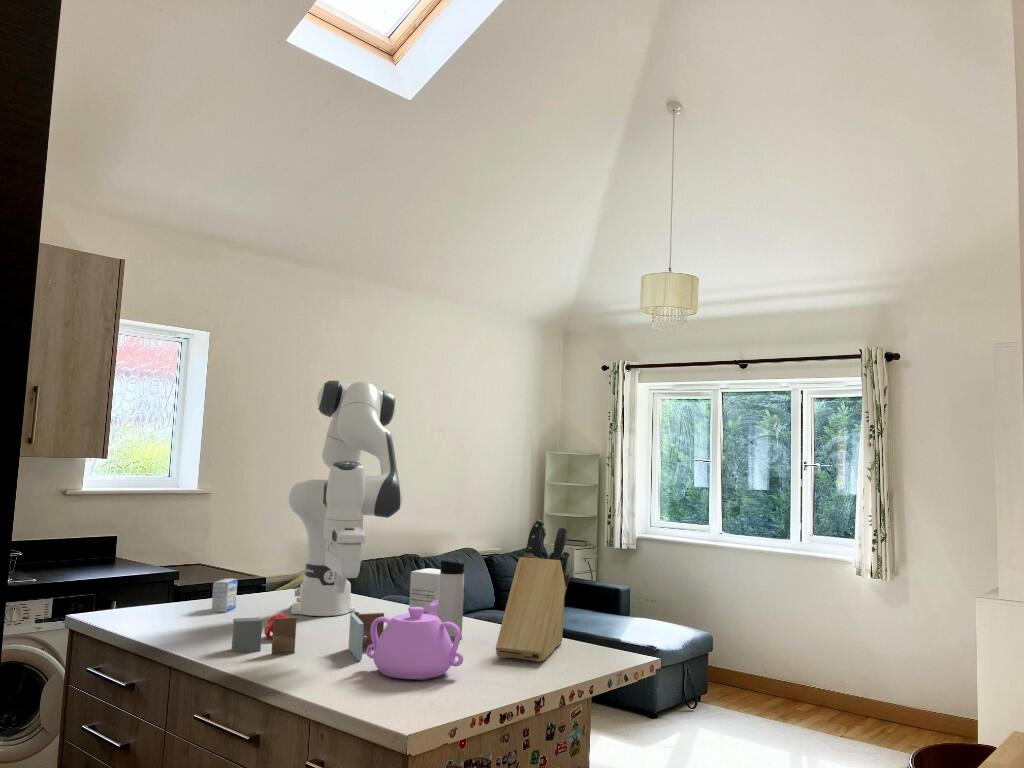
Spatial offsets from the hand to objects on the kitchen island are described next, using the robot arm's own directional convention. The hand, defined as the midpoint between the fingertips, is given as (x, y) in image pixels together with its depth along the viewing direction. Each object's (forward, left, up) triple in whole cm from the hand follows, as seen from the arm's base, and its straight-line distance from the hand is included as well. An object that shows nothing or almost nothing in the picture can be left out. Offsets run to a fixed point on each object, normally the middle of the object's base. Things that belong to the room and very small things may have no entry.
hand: (339, 592), depth 184 cm
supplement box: (-29, +33, -15) cm, 46 cm away
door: (-1, +5, -14) cm, 15 cm away
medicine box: (-66, -18, -15) cm, 70 cm away
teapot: (+17, +14, -15) cm, 26 cm away
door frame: (-7, -1, -15) cm, 16 cm away
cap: (-24, -9, -15) cm, 30 cm away
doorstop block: (-13, -18, -15) cm, 27 cm away
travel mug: (-11, +32, -15) cm, 37 cm away
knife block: (+5, +49, -15) cm, 51 cm away
